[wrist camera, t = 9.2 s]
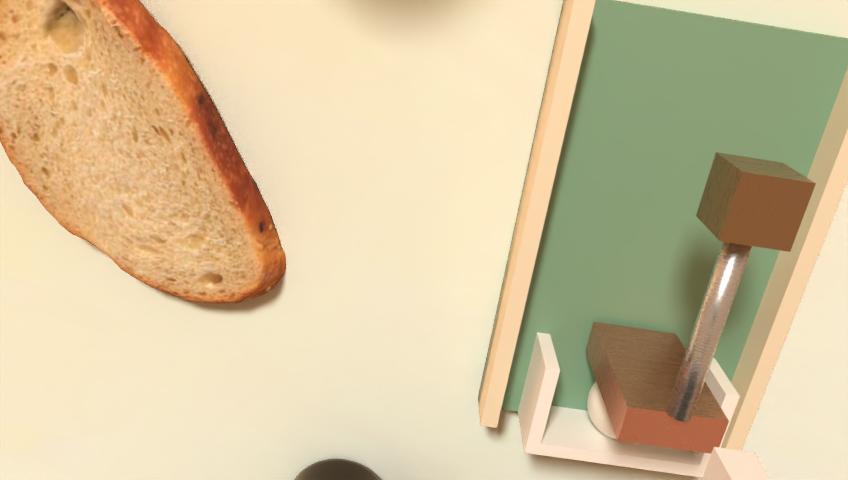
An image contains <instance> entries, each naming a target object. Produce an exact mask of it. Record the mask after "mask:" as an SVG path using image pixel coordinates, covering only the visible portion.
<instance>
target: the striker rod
mask: <svg viewBox="0 0 848 480" xmlns="http://www.w3.org/2000/svg"><path fill="white" fill-rule="evenodd" d="M815 185H816V183H814V182H813V181H811V180H810V179H808V178H807V177H805V176H803V175H802V174H800V173H799V172H797V171H795V170H794V169H792V168H791V167H789V166H788V165H786V164H784V163H783V162H776V161H770V160H764V159H757V158H751V157H744V156H738V155H732V154H725V153H719V152H716V154H715V157H714V160H713V163H712V166H711V170H710V173H709V176H708V179H707V182H706V185H705V189H704V192H703V195H702V198H701V201H700V204H699V208H698V211H697V214H696V217H697V218H698V219H699V220H700V221H701V222H702V223H703V224H704V225H705V226H706V227H707V228H708V229H709V230H710V231H711V233H712V234H713V235H714V236H715V237H716V238H717V239H718V240H719V241H722V244H721V247H720V250H719V253H718V256H717V259H716V262H715V265H714V268H713V271H712V274H711V277H710V280H709V283H708V286H707V289H706V292H705V295H704V298H703V301H702V304H701V307H700V310H699V313H698V316H697V319H696V322H695V325H694V328H693V331H692V334H691V337H690V340H689V343H688V346H687V349H685V348H684V346H683V344H682V343H681V341H680V339H679V338H678V336H677V334H675V333H668V332H661V331H654V330H647V329H641V328H634V327H627V326H620V325H613V324H607V323H600V322H593V325H592V329H591V332H590V336H589V340H588V343H587V347H586V350H585V351H586V353H587V356H588V359H589V362H590V365H591V368H592V370H593V373H594V376H595V379H596V382H597V384H598V387H599V390H600V393H601V396H602V398H603V401H604V404H605V407H606V410H607V413H608V415H609V418H610V421H611V424H612V427H613V429H614V432H615V435H616V438H617V440H618V441H625V442H632V443H639V444H646V445H653V446H660V447H667V448H674V449H681V450H688V451H696V452H703V453H710V454H711V453H712V450H713V448H714V447H718V448H719V447H720V444H721V441H722V439H723V436H724V434H725V431H726V428H727V426H728V423H729V420H728V419H727V417H726V415H725V414H724V412H723V410H722V409H721V407H720V405H719V404H718V402H717V400H716V399H715V397H714V395H713V394H712V392H711V390H710V389H709V387H708V386H707V384H706V382H705V379H706V376H707V373H708V370H709V367H710V365H711V362H712V359H713V356H714V353H715V351H716V348H717V345H718V342H719V339H720V336H721V334H722V331H723V328H724V325H725V322H726V319H727V317H728V314H729V311H730V308H731V305H732V302H733V300H734V297H735V294H736V291H737V288H738V286H739V283H740V280H741V277H742V274H743V271H744V269H745V266H746V263H747V260H748V257H749V254H750V252H751V249H752V246H755V247H761V248H768V249H775V250H781V251H788V252H790V251H791V248H792V246H793V243H794V240H795V238H796V235H797V232H798V230H799V227H800V225H801V222H802V219H803V217H804V214H805V211H806V209H807V206H808V203H809V201H810V198H811V195H812V193H813V190H814V187H815Z"/></svg>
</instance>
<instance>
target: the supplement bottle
mask: <svg viewBox="0 0 848 480" xmlns="http://www.w3.org/2000/svg"><path fill="white" fill-rule="evenodd" d="M295 480H380V479H379V478H378V477H377V475H376V474H375V473H373V472H372V471H371V470H370V469H368V468H367V467H365V466H363V465H361V464H359V463H357V462H354V461H350V460H345V459H328V460H323V461H319V462H316V463H314V464H312V465H310V466H308V467H307V468H305V469H304V470H303V471H302V472H300V474H299V475H298V476H297V477H296V478H295Z"/></svg>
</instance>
